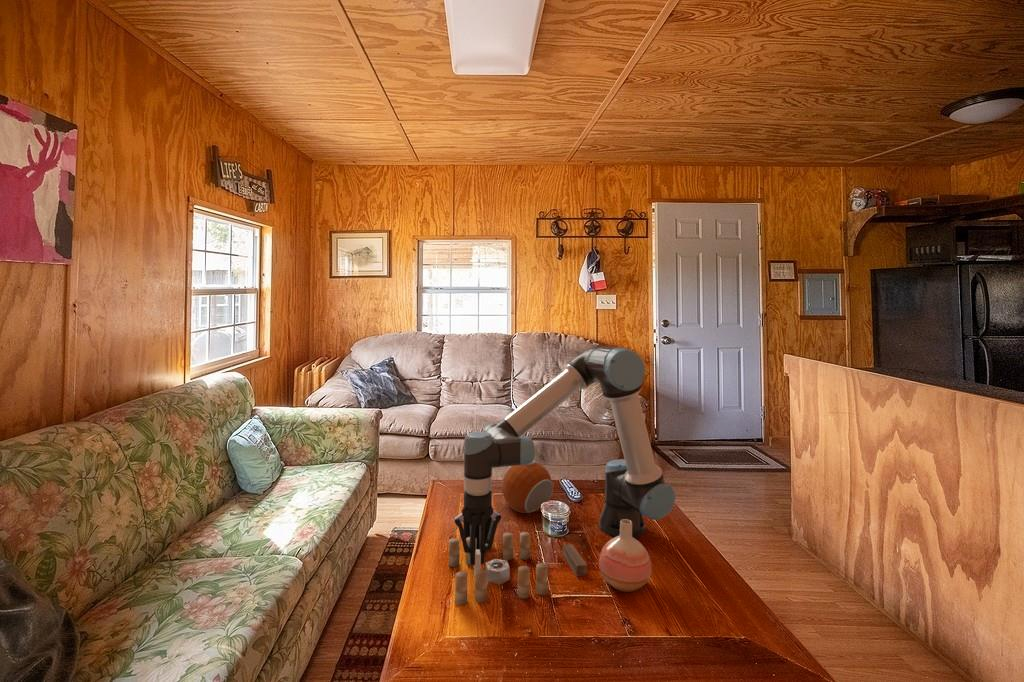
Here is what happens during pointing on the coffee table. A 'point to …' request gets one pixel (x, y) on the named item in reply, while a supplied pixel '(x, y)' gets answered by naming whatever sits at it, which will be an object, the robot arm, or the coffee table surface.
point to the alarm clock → (527, 486)
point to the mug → (467, 530)
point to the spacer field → (482, 574)
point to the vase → (625, 560)
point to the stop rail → (574, 560)
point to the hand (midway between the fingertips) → (477, 575)
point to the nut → (497, 571)
